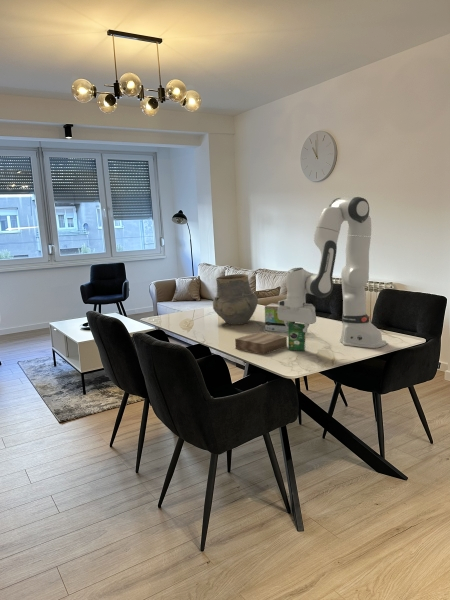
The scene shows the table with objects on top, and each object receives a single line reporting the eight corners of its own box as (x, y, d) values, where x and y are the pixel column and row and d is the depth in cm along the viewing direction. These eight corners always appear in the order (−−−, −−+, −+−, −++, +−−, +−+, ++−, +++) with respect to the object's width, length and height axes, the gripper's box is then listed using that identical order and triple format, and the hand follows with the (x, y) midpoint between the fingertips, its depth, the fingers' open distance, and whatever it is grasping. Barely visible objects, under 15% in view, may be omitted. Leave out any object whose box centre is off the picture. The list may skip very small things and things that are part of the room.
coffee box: (306, 349, 218) (305, 323, 216) (304, 351, 215) (304, 324, 213) (290, 348, 221) (289, 322, 219) (288, 350, 219) (287, 323, 217)
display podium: (286, 346, 226) (286, 336, 225) (263, 354, 213) (263, 344, 213) (259, 341, 239) (258, 331, 238) (235, 348, 226) (235, 338, 225)
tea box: (264, 331, 261) (264, 305, 259) (271, 327, 270) (270, 302, 268) (289, 332, 254) (289, 306, 252) (295, 329, 263) (295, 303, 261)
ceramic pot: (267, 322, 284) (266, 274, 280) (230, 329, 269) (228, 279, 264) (240, 316, 308) (239, 272, 303) (205, 322, 292) (202, 276, 287)
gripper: (318, 303, 209) (319, 332, 212) (283, 299, 224) (283, 327, 226) (310, 305, 205) (311, 335, 207) (275, 301, 219) (276, 329, 222)
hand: (296, 331), depth 217 cm, fingers closed on coffee box, 8 cm apart
